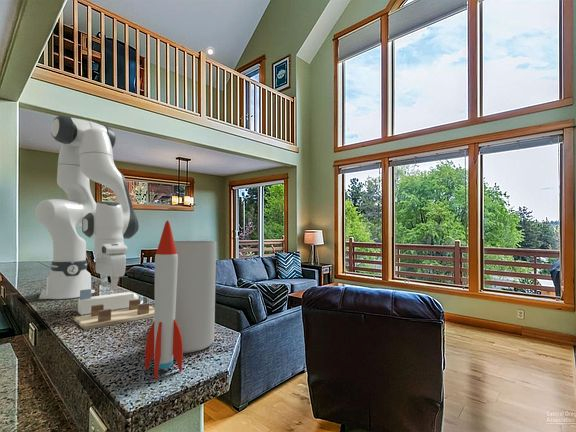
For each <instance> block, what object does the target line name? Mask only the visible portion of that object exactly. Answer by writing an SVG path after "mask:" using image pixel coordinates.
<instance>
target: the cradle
mask: <svg viewBox="0 0 576 432" xmlns="http://www.w3.org/2000/svg"><path fill="white" fill-rule="evenodd" d="M154 310H155V306H151V305H150V303H149V302H144V303H141V299H139V298H138V299H135V300H129V307H127V308H121V309H115V310H111V309H105V310H104V305H103V304H101V305H94V306H91V313H90V314H84V315H80V316H74V318H73V319H74V322H76V323H77V325H79V326H80V327H81V328H82V329H83V330H84V331H86V330H91V329H97V328H102V327H108V326H112V325H118V324H122V323H123V324H124V323H128V322H133V321H139V320H143V319H149V318H154Z"/></svg>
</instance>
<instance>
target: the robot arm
mask: <svg viewBox="0 0 576 432" xmlns="http://www.w3.org/2000/svg"><path fill="white" fill-rule="evenodd" d="M50 129H51V133H50V134H51V137H52V138H53V139H54V141H56V142H59V143H61V147H60V150H59V153H58V160H57V171H56V172H57V175H56V184H57V185H58V187H59V188H60V189H62V190H63V191H64V192H65V194H66V197H67V199H64V198H49V199H43V200H41V201H40V202H39V203H38V204H37V206H36V207H35V210H34V211H35V212H34V213H35V214H34V215H35V218H36V220H37V221H38V222H39V223H40V224H41V225H42V226H44V227H45V229H47V231H48V232H49V235H50V237H51V241H52V247H53V248H52V255H53V257H52V261H51V264H50V270H51V271H50V274H48V276H47V277H46V278H45V279H44V280H42V286H43V287H44V288H43V290H41V293H40V295H39V297H38V299H39V300H47V299H48V300H64V299H74V298H80V290H86V289H91V294H94V293H96V290H95V289H92V279H91V278H92V276H91V273H90V272H89V271H88V270H87V269H88V260H87V241H86V239H84V237H82V236H80V235H79V233H78V232H77V228H78V227H79V228H80V227H81V231H82V233H83V235H85V236H86V237H87V238H91V239H94V240H93V241H94V242H93V243H94V251H93V252H94V254H96V255H95V272H96V274H99V277H100V283H101V284H100V285H101V288H102V287H103V288H106V287H109V289H110V290H111V291H116V290H117V289H118V284H119V280H120V278H122V277H124V276H125V273H126V267H127V266H126V265H127V263H126V262H127V255H126V254H127V253H128V246H127V245H126V243H125V240H127V239H128V240H130V239H131V238H133V237H134V236H135V235H136V234H137V233H138V231H139V229H140V228H139V227H140V226H139V219H138V217H137V215H136V213H135V210H134V207H133V206H134V205H133V202H132V199H131V193H130V190H129V187H128V183H127V181H126V178H125V175H124V174H123V173H121V171H119V169H118V168H117V166H116V163H115V161H114V152H113V148H114V146H115V144H116V140H117V137H116V136H117V135H116V132H115V131H114V129H113V128H111V127H109V126H107V125H103V124H100V123H98V122H94V121H90V120H87V119H81V118H76V117H71V116H68V115H58V116H56V117H55V118H54V119H53V121H52V123H51V126H50ZM90 180H91V181H92V182H94V183H98V184H100V185H103V186H105V187H106V188H108V189H109V190H111V191H112V192H113V194H114V196H115V199H116V201H110V200H109V201H107V200H100V201H98V202H96V200H95V198H94V197H93V194H92V191H91V185H90ZM124 239H125V240H124ZM108 277H110V284H109V280H108Z"/></svg>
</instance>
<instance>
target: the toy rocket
mask: <svg viewBox="0 0 576 432" xmlns="http://www.w3.org/2000/svg"><path fill="white" fill-rule="evenodd" d="M174 241H175V240H174V235H173V231H172V227H171V224H170V221H169V220H166V221H165V222H164V226H163V229H162V233H161V236H160V240H159V243H158V246H157V249H156V253H155V255H154V308H155V310H154V317H153V318H154V322H153V321H152V324H151V325H150V329H149V330H148V334H147V336H146V342H145V351H144V352H145V353H144V362H145V363H144V370H145V371H146V370H148V369H149V367H150V365H151V362H152V360H154V361H153V366H154V369H153V372H154V373H153V376H154V377H153V379H154V380H157V379H158V376H159V369H160V370H162V369H168V368H170V367H171V366H173V365H174V359H175V362H176V364H177V367H178V370H179V371H180V372H183V359H184V357H183V355H184V353H183V344H182V336H181V333H180V329H179V327H178V324H177V322H176V320H175V310H176V289H177V268H178V255H177V251H176V247H175V244H174Z"/></svg>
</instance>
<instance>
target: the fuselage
mask: <svg viewBox="0 0 576 432" xmlns="http://www.w3.org/2000/svg"><path fill="white" fill-rule="evenodd" d="M91 289H92V288H91ZM91 289H86V290H80V297H77V298H78V299H77V300H78V301H77V304H78V305H77V313H78V314H79V315H80V316H85V315H91V306H94V305H101V304H103V305H104V310H105V309H111V311H116V310H122V309H128V308H129V300H135V299H139V296H138V294H137V293H135V292H131V291H125V292H119V293H111V294H101V295H96V296H93V295H92V293H91Z"/></svg>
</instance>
